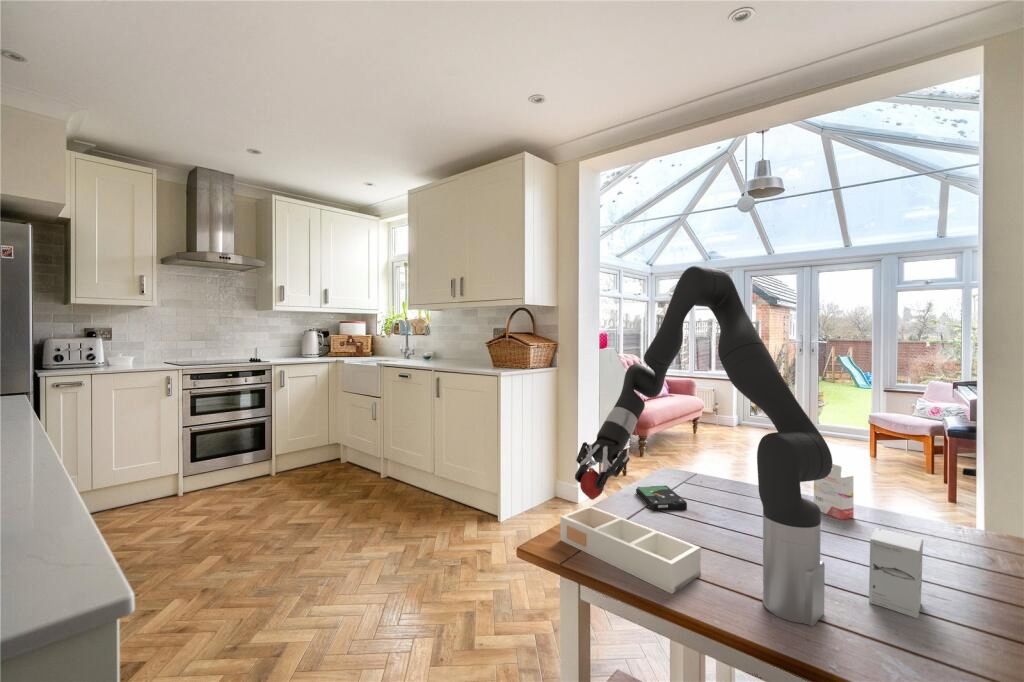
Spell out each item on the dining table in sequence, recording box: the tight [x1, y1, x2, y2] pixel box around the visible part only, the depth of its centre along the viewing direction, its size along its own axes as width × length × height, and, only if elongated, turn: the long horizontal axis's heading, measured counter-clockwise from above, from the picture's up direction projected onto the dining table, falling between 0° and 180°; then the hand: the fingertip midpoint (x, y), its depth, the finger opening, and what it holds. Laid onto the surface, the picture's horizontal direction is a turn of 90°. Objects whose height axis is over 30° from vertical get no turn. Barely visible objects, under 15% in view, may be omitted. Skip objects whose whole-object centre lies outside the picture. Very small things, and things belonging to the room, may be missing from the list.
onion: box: [579, 467, 605, 501], centre depth 115 cm, size 6×6×8 cm
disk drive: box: [635, 485, 688, 512], centre depth 142 cm, size 10×3×15 cm
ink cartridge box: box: [813, 463, 855, 520], centre depth 131 cm, size 9×5×15 cm, turn 17°
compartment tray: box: [559, 505, 702, 595], centre depth 108 cm, size 31×11×6 cm, turn 39°
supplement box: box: [868, 527, 924, 619], centre depth 88 cm, size 7×7×13 cm
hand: (587, 483), depth 114 cm, fingers closed on onion, 5 cm apart
